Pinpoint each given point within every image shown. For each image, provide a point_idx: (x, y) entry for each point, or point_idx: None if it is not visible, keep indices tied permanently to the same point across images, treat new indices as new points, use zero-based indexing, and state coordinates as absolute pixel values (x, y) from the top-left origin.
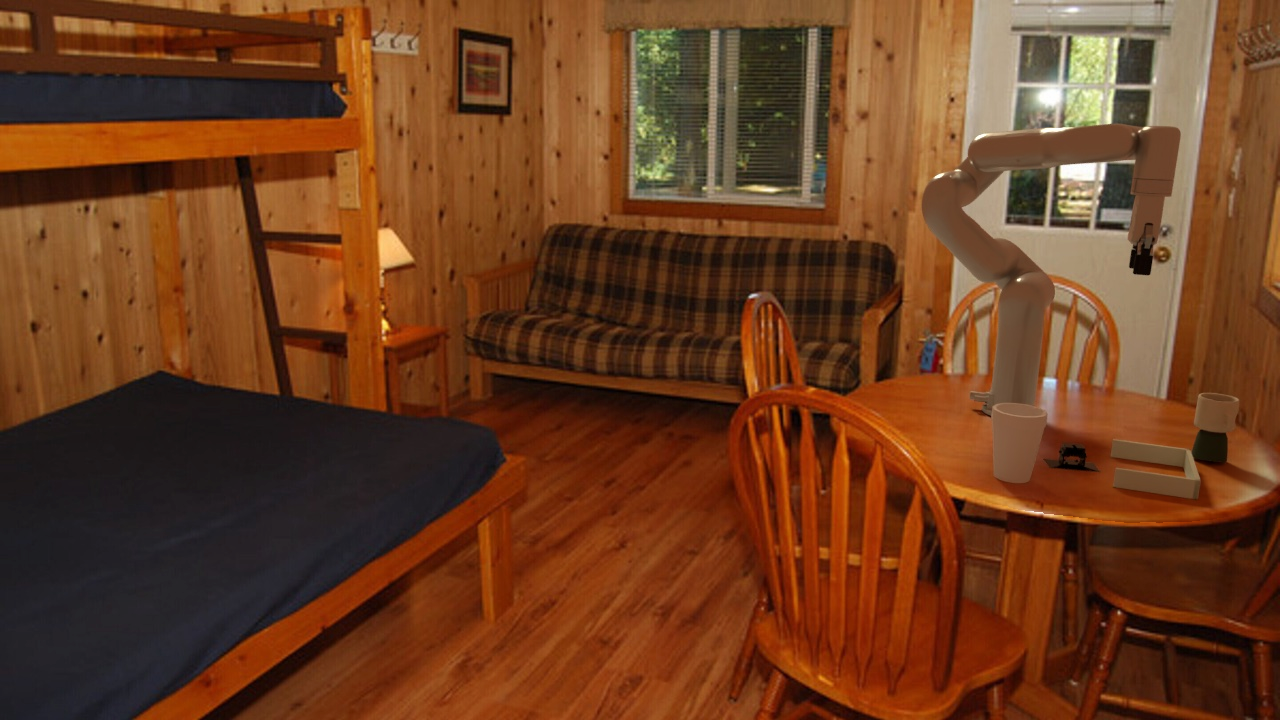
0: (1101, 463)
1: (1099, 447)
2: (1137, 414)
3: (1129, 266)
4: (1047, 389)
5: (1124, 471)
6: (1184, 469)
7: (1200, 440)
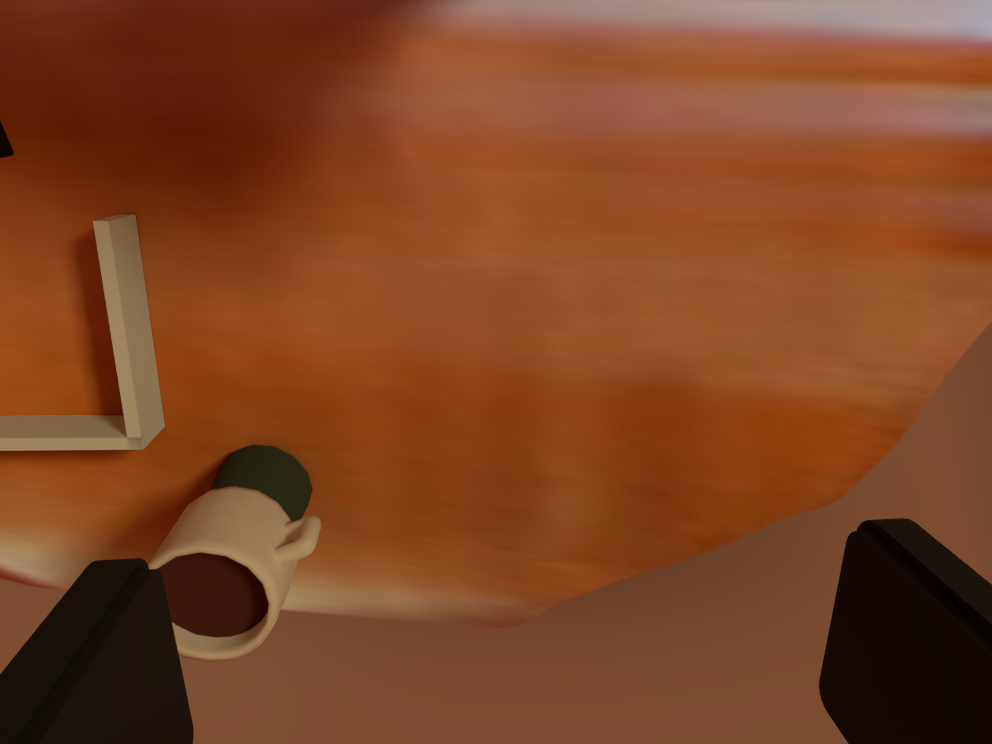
0: (22, 180)
1: (218, 182)
2: (714, 324)
3: (875, 528)
4: (988, 5)
5: None
6: (110, 416)
7: (219, 485)
